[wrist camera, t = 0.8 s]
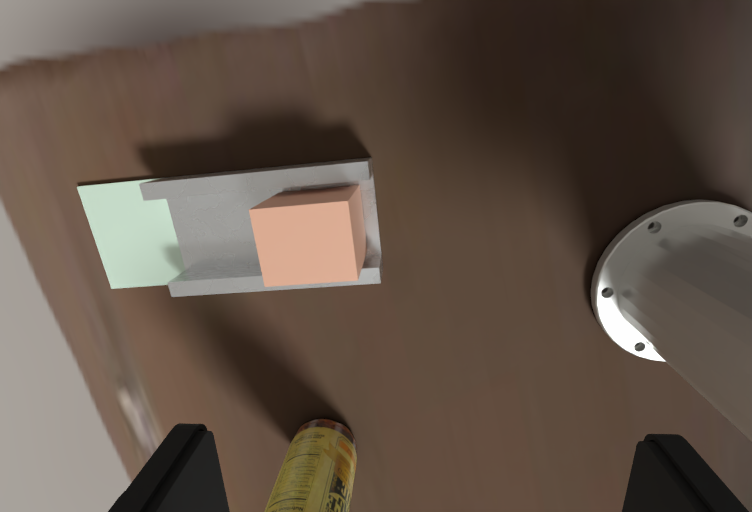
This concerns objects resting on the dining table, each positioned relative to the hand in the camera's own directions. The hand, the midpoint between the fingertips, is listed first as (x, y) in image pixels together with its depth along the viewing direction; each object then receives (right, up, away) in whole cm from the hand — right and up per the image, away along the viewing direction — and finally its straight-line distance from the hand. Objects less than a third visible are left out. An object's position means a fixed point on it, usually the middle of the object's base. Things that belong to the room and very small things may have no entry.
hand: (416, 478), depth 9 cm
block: (-5, +8, +21) cm, 23 cm away
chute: (-9, +7, +22) cm, 25 cm away
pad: (-20, +7, +23) cm, 31 cm away
